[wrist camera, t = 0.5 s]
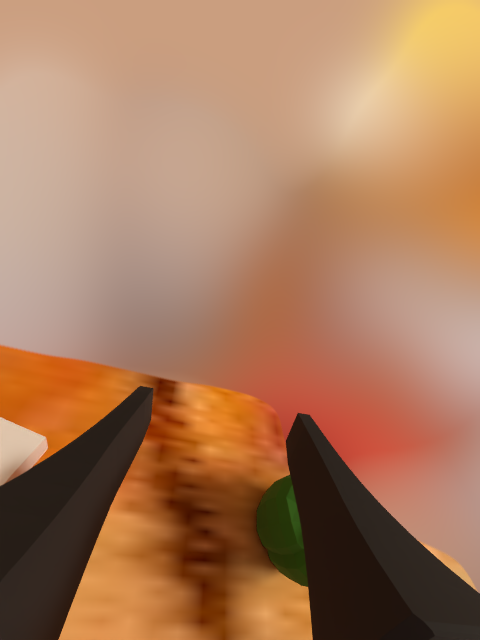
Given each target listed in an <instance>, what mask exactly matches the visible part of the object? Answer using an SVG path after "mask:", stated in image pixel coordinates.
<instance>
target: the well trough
mask: <svg viewBox="0 0 480 640" xmlns="http://www.w3.org/2000/svg"><path fill="white" fill-rule="evenodd" d="M47 449H48V446H47V441H46V437H44V436H42V435H40V434H37V433H35V432H33V431H30V430H28V429H26V428H24V427H21V426H19V425H17V424H14V423H12V422H10V421H7V420H5V419H3V418H1V417H0V486H1V485H3V484H5V483H7V482H9V481H10V480H12V479H14V478H16V477H17V476H19V475H21V474H23V473H24V472H26V471H28V470H29V469H31V468H32V467H33V465H34V464H35V463H36V462H37V461H38V460H39V458H40V457H41V456H42V455H43V454H44V453H45V451H46V450H47Z"/></svg>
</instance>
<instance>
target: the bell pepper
mask: <svg viewBox="0 0 480 640" xmlns="http://www.w3.org/2000/svg"><path fill="white" fill-rule="evenodd" d="M257 532H258V535H259V537H260V540H261V542H262V545H263V546H264V547H265V548H266V549H267V550H268V556H269V558H270V560H271V562H272V563H273V564H274V565H275V567H276V568H277V569H278V570H279V572H281V573H282V574H283V575H285V576H286V577H288V578H289V579H291V580H293V581H294V582H296V583H298V584H300V585H302V586H306V587H308V580H307V571H306V562H305V553H304V545H303V538H302V530H301V524H300V518H299V513H298V509H297V504H296V499H295V495H294V490H293V485H292V480H291V476H290V475H288V476H286V477H284V478H282V479H280V480H278V481H276V482H274V483H273V484H272V485H271V487H270V488H269V489H268V490H267V491H266V493H265V494H264V495H263V497H262V499H261V502H260V504H259V506H258V509H257Z"/></svg>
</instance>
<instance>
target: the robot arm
mask: <svg viewBox="0 0 480 640" xmlns="http://www.w3.org/2000/svg"><path fill="white" fill-rule="evenodd" d="M152 400H153V388H149V387H143V386H140V387H138V388H137V389H136V390H135V391H134V392H133V393H132V394H131V395H130V396H128V397H127V398H126V399H125V400H124V401H123V402H122V403H121V404H119V405H118V406H117V407H116V408H115V409H114V410H112V411H111V412H110V413H109V414H108V415H106V416H105V417H104V418H103V419H102V420H100V421H99V422H98V423H97V424H95V425H94V426H93V427H91V428H90V429H89V430H87V431H86V432H85V433H83V434H82V435H81V436H79V437H78V438H77V439H75V440H74V441H72V442H71V443H70V444H68V445H67V446H65V447H64V448H62V449H61V450H59V451H58V452H56V453H55V454H53V455H52V456H50V457H49V458H47V459H45V460H44V461H42V462H41V463H39V464H37V465H36V466H34V467H33V468H31V469H29V470H28V471H26V472H24V473H23V474H21V475H19V476H17V477H16V478H14V479H12V480H10V481H9V482H7V483H5V484H3V485H1V486H0V640H58V639H59V637H60V634H61V631H62V628H63V626H64V623H65V620H66V618H67V615H68V612H69V610H70V607H71V604H72V602H73V599H74V597H75V594H76V591H77V589H78V586H79V584H80V581H81V578H82V576H83V573H84V571H85V568H86V566H87V563H88V561H89V558H90V555H91V553H92V550H93V548H94V545H95V543H96V540H97V538H98V535H99V533H100V531H101V528H102V526H103V523H104V521H105V518H106V516H107V514H108V511H109V509H110V506H111V504H112V502H113V500H114V498H115V495H116V493H117V491H118V489H119V487H120V485H121V483H122V481H123V479H124V477H125V475H126V473H127V471H128V469H129V467H130V466H131V464H132V462H133V460H134V458H135V456H136V454H137V452H138V450H139V448H140V446H141V444H142V442H143V439H144V437H145V434H146V431H147V429H148V426H149V423H150V421H151V413H152ZM286 448H287V458H288V466H289V471H290V476H291V480H292V485H293V490H294V495H295V499H296V504H297V509H298V513H299V518H300V524H301V530H302V538H303V545H304V553H305V562H306V571H307V580H308V589H309V600H310V611H311V622H312V635H313V640H480V594H479V593H478V592H477V591H476V590H474V589H473V588H472V587H471V586H470V585H468V584H467V583H466V582H465V581H464V580H462V579H461V578H460V577H459V576H458V575H456V574H455V573H454V572H453V571H451V570H450V569H449V568H448V567H447V566H445V565H444V564H443V563H442V562H441V561H440V560H439V559H437V558H436V557H435V556H434V555H433V554H432V553H431V552H430V551H429V550H427V549H426V548H425V547H424V546H423V545H422V544H421V543H420V542H419V541H417V540H416V539H415V538H414V537H413V536H412V535H411V534H410V533H409V532H408V531H407V530H406V529H405V528H404V527H403V526H401V524H400V523H399V522H398V521H397V520H396V519H395V518H394V517H393V516H391V514H390V513H389V512H387V510H386V509H385V508H384V507H383V506H382V505H381V504H380V503H379V502H378V501H377V500H376V499H375V498H374V496H373V495H372V494H371V493H370V492H369V491H368V490H367V489H366V488H365V487H364V485H363V484H361V482H360V481H359V480H358V478H357V477H356V476H355V475H354V474H353V472H352V471H351V470H350V469H349V468H348V466H347V465H346V464H345V462H344V461H343V460H342V459H341V457H340V456H339V455H338V453H337V452H336V451H335V449H334V448H333V447H332V445H331V444H330V443H329V441H328V440H327V439H326V437H325V436H324V435H323V433H322V432H321V430H320V429H319V427H318V426H317V425H316V423H315V422H314V420H313V419H312V418H311V417H310V415H307V414H301V413H298V414H297V416H296V419H295V421H294V423H293V426H292V428H291V431H290V433H289V435H288V437H287V440H286Z"/></svg>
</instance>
